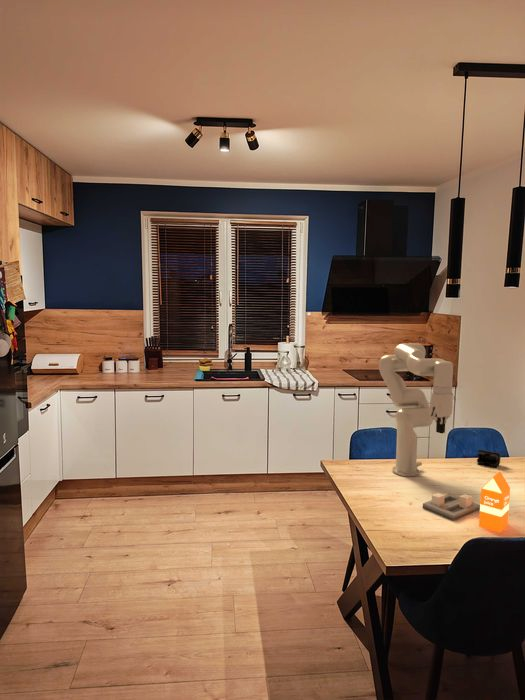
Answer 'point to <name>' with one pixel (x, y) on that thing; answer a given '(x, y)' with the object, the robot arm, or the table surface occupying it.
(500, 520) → the orange juice
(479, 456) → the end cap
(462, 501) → the tab
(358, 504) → the table surface
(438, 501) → the tab
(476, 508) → the switch board
